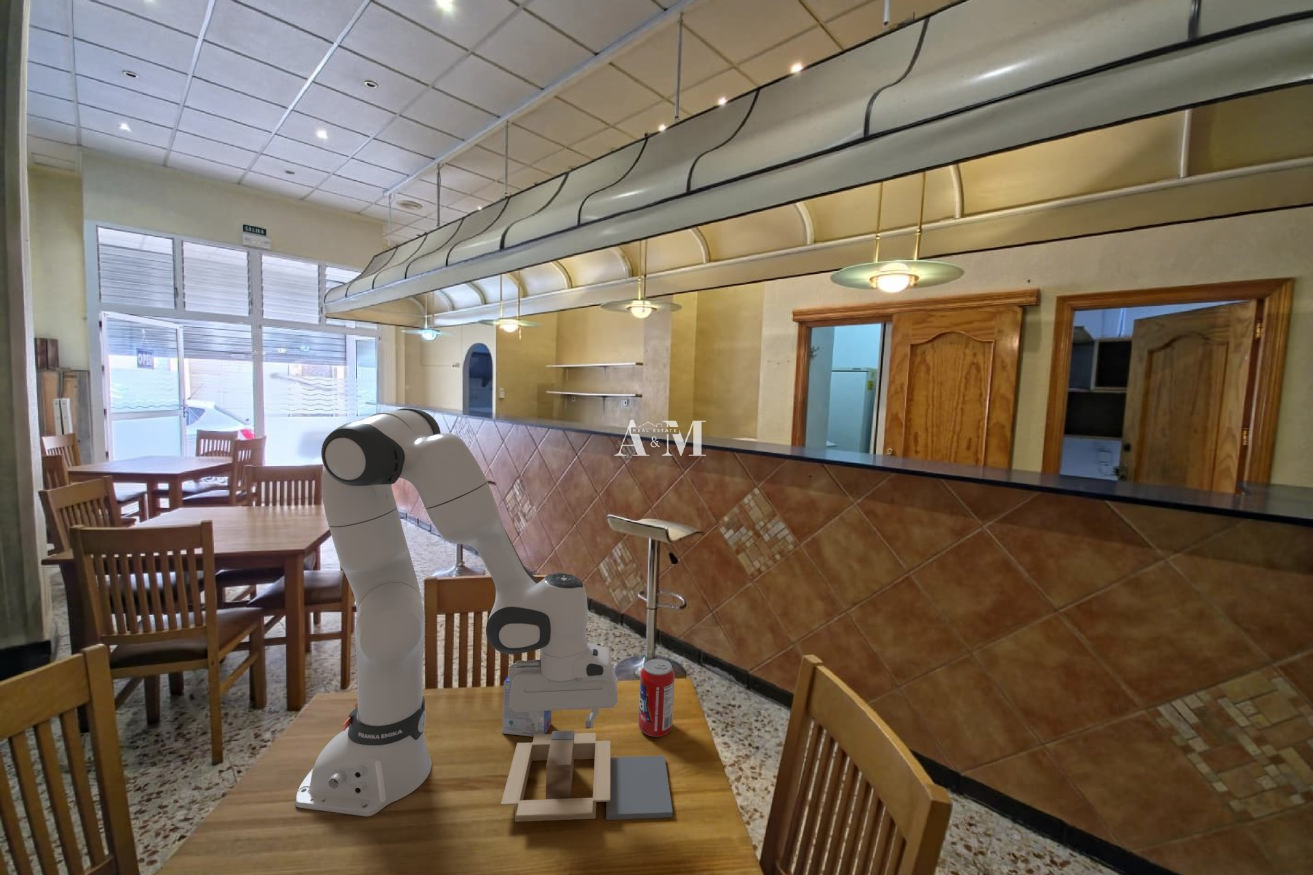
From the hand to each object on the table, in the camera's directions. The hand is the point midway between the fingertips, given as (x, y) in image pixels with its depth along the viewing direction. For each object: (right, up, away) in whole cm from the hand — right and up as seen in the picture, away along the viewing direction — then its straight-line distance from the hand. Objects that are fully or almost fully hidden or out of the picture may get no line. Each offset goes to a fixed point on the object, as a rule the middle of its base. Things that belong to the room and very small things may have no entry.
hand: (564, 727), depth 94 cm
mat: (+14, -13, +1) cm, 19 cm away
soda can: (+17, -11, +19) cm, 28 cm away
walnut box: (-1, -12, +1) cm, 12 cm away
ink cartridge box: (-12, -10, +17) cm, 23 cm away
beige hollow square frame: (-1, -12, +1) cm, 12 cm away
